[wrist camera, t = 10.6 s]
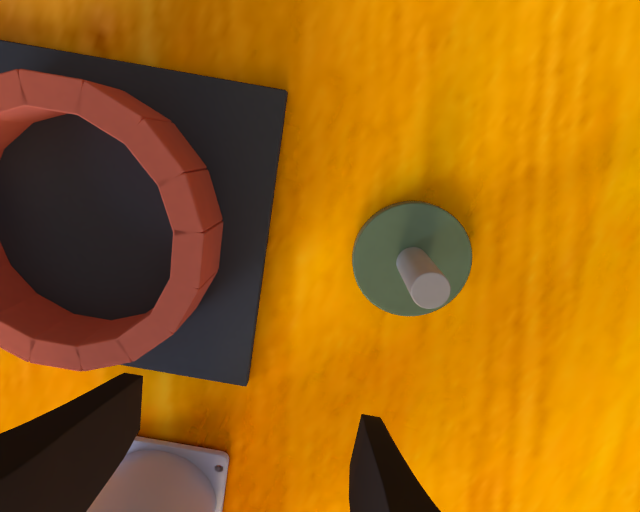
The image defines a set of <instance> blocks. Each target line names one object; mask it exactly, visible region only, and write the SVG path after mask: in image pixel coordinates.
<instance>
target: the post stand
mask: <svg viewBox="0 0 640 512" xmlns="http://www.w3.org/2000/svg"><path fill="white" fill-rule="evenodd" d="M352 264H353V271H354V276H355V279H356V282H357V284H358V286H359V288H360V290H361V291H362V293H363V294H364V295H365V297H366V298H367V299H368V300H369V301H370V302H371V303H373V304H374V305H375V306H377V307H378V308H380V309H382V310H384V311H386V312H389V313H391V314H396V315H401V316H418V315H424V314H428V313H431V312H433V311H436V310H438V309H440V308H442V307H443V306H445V305H446V304H448V303H449V302H450V301H451V300H453V299H454V298H455V297H456V296H457V294H458V293H459V292H460V291H461V289H462V288H463V286H464V285H465V283H466V281H467V279H468V276H469V273H470V269H471V265H472V249H471V244H470V240H469V238H468V235H467V233H466V231H465V229H464V228H463V226H462V225H461V224H460V222H459V221H458V220H457V219H456V218H455V217H454V216H452V215H451V214H450V213H448V212H447V211H445V210H443V209H442V208H440V207H438V206H436V205H433V204H430V203H426V202H421V201H404V202H399V203H395V204H392V205H390V206H387V207H385V208H383V209H381V210H380V211H378V212H377V213H375V214H374V215H373V216H372V217H371V218H370V219H369V220H368V221H367V222H366V223H365V224H364V226H363V227H362V228H361V230H360V232H359V233H358V235H357V238H356V240H355V243H354V247H353V254H352Z"/></svg>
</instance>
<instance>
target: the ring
mask: <svg viewBox="0 0 640 512" xmlns="http://www.w3.org/2000/svg"><path fill="white" fill-rule="evenodd" d="M64 114H74V115H78V116H80V117H82V118H83V119H85V120H86V121H88V122H90V123H91V124H93V125H95V126H96V127H98V128H99V129H101V130H103V131H104V132H106V133H108V134H109V135H111V136H112V137H114V138H116V139H117V140H119V141H121V142H122V143H124V144H125V145H126V146H127V148H128V149H129V150H130V151H131V153H132V154H133V155H134V157H135V158H136V159H137V160H138V162H139V163H140V164H141V165H142V167H143V168H144V169H145V170H146V172H147V173H148V174H149V175H150V177H151V178H152V179H153V180H154V182H155V183H156V184H157V185H158V188H159V191H160V194H161V197H162V200H163V203H164V206H165V209H166V212H167V215H168V218H169V221H170V224H171V227H172V230H173V242H172V256H171V271H170V279H169V281H168V283H167V284H166V286H165V288H164V290H163V292H162V294H161V295H160V297H159V299H158V301H157V303H156V305H155V306H154V308H152V309H151V310H150V311H148V312H147V313H144V314H140V315H135V316H130V317H125V318H120V319H115V320H106V319H101V318H95V317H89V316H83V315H78V314H73V313H71V312H70V311H68V310H66V309H64V308H62V307H61V306H59V305H57V304H55V303H53V302H51V301H50V300H48V299H46V298H44V297H42V296H41V295H39V294H37V293H36V292H35V291H34V290H33V288H32V287H31V286H30V285H29V284H28V283H27V282H26V281H25V280H24V279H23V278H22V277H21V276H20V274H19V273H18V272H17V271H16V270H15V269H14V268H13V267H12V266H11V265H10V262H9V260H8V258H7V256H6V254H5V251H4V249H3V247H2V245H1V242H0V348H2V349H4V350H6V351H8V352H10V353H12V354H14V355H15V356H17V357H19V358H21V359H23V360H25V361H27V362H29V361H30V363H35V364H41V365H46V366H52V367H58V368H64V369H69V370H75V371H88V370H93V369H98V368H104V367H109V366H114V365H119V364H124V363H130V362H132V361H133V362H134V361H136V360H137V359H139V358H140V357H141V356H143V355H144V354H146V353H147V352H149V351H150V350H152V349H153V348H155V347H156V346H157V345H159V344H160V343H162V342H163V341H165V340H166V339H168V338H169V337H170V336H172V335H173V334H174V333H175V332H176V331H177V330H178V329H179V327H180V326H181V325H182V324H183V323H184V322H185V321H186V320H187V318H188V317H189V316H190V315H191V314H192V313H193V312H194V310H195V309H196V308H197V306H198V305H199V303H200V301H201V300H202V298H203V296H204V294H205V293H206V291H207V289H208V287H209V286H210V284H211V282H212V281H213V279H214V277H215V275H216V274H217V272H218V269H219V261H220V251H221V242H222V232H223V221H222V220H223V218H222V214H221V211H220V207H219V204H218V201H217V197H216V194H215V191H214V187H213V184H212V180H211V177H210V174H209V171H208V170H207V169H206V168H207V166H206V165H205V164H204V162H203V161H202V160H201V158H200V157H199V156H198V154H197V153H196V152H195V150H194V149H193V148H192V146H191V145H190V144H189V143H188V141H187V140H186V139H185V137H184V136H183V135H182V133H181V132H180V131H179V129H178V128H177V127H176V125H175V124H174V123H171V122H172V121H171V120H169V119H168V118H166V117H165V116H163V115H161V114H160V113H158V112H157V111H155V110H154V109H152V108H150V107H149V106H147V105H146V104H144V103H142V102H141V101H139V100H138V99H136V98H134V97H133V96H131V95H130V94H128V93H126V92H125V91H122V90H120V89H116V88H113V87H109V86H105V85H101V84H98V83H94V82H90V81H87V80H83V79H78V78H72V77H66V76H60V75H55V74H49V73H43V72H37V71H32V70H26V69H15V70H11V71H8V72H4V73H0V159H1V156H2V154H3V151H4V149H5V148H6V147H7V146H8V145H9V144H10V143H12V142H13V141H14V140H15V139H16V138H17V137H18V136H19V135H20V134H21V133H23V132H24V131H25V130H26V129H27V128H28V127H29V126H30V125H31V124H32V123H34V122H38V121H42V120H45V119H49V118H53V117H57V116H60V115H64Z"/></svg>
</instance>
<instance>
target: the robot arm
mask: <svg viewBox="0 0 640 512" xmlns="http://www.w3.org/2000/svg"><path fill="white" fill-rule="evenodd" d="M142 384H143V376H140V375H134V374H129V373H123V374H121V375H119V376H117V377H115V378H113V379H111V380H109V381H107V382H106V383H104V384H102V385H100V386H98V387H96V388H94V389H93V390H91V391H89V392H87V393H85V394H83V395H81V396H79V397H77V398H76V399H74V400H72V401H70V402H68V403H66V404H64V405H62V406H60V407H58V408H56V409H54V410H52V411H50V412H48V413H46V414H43V415H41V416H39V417H37V418H35V419H33V420H31V421H29V422H27V423H24V424H22V425H20V426H18V427H15V428H13V429H11V430H8V431H6V432H3V433H1V434H0V512H222V511H223V503H224V495H225V488H226V480H227V472H228V465H229V456H228V454H227V453H226V452H224V451H220V450H214V449H208V448H202V447H197V446H191V445H185V444H179V443H174V442H168V441H162V440H156V439H151V438H145V437H139V436H137V434H138V432H139V430H140V421H141V402H142ZM218 465H221V466H222V467H219V466H218ZM349 503H350V512H441V511H440V510H439V509H438V508H437V506H436V505H435V504H434V503H433V501H432V500H431V499H430V497H429V496H428V495H427V493H426V492H425V490H424V489H423V488H422V486H421V485H420V483H419V482H418V480H417V479H416V477H415V476H414V474H413V473H412V471H411V470H410V468H409V466H408V465H407V463H406V461H405V460H404V458H403V457H402V455H401V453H400V452H399V450H398V448H397V446H396V445H395V443H394V441H393V439H392V437H391V436H390V434H389V432H388V430H387V428H386V426H385V424H384V423H383V421H382V419H381V418H380V417H375V416H370V415H364V414H362V415H361V419H360V423H359V428H358V432H357V436H356V440H355V445H354V449H353V453H352V458H351V462H350V475H349Z"/></svg>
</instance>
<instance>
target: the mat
mask: <svg viewBox="0 0 640 512" xmlns="http://www.w3.org/2000/svg"><path fill="white" fill-rule="evenodd" d="M15 69H26V70H32V71H37V72H43V73H49V74H55V75H60V76H66V77H72V78H78V79H83V80H87V81H90V82H94V83H98V84H101V85H105V86H109V87H113V88H116V89H120V90H122V91H125V92H126V93H128V94H130V95H131V96H133V97H134V98H136V99H138V100H139V101H141V102H142V103H144V104H146V105H147V106H149V107H150V108H152V109H154V110H155V111H157V112H158V113H160V114H161V115H163V116H165V117H166V118H168V119H169V120H171V121H172V122H171V123H174V124H175V125H176V127H177V128H178V129H179V131H180V132H181V133H182V135H183V136H184V137H185V139H186V140H187V141H188V143H189V144H190V145H191V146H192V148H193V149H194V150H195V152H196V153H197V154H198V156H199V157H200V158H201V160H202V161H203V162H204V164H205V165H206V166H207V168H206V169H207V170H208V171H209V174H210V177H211V180H212V184H213V187H214V191H215V194H216V197H217V201H218V204H219V207H220V211H221V214H222V218H223V220H222V221H223V232H222V242H221V251H220V261H219V269H218V272H217V274H216V275H215V277H214V279H213V281H212V282H211V284H210V286H209V287H208V289H207V291H206V293H205V294H204V296H203V298H202V300H201V301H200V303H199V305H198V306H197V308H196V309H195V310H194V312H193V313H192V314H191V315H190V316H189V317H188V318H187V320H186V321H185V322H184V323H183V324H182V325H181V326H180V327H179V329H178V330H177V331H176V332H175V333H174V334H173V335H172V336H170V337H169V338H168V339H166V340H165V341H163V342H162V343H160V344H159V345H157V346H156V347H155V348H153V349H152V350H150V351H149V352H147V353H146V354H144V355H143V356H141V357H140V358H139V359H137V360H136V361H134V362H133V361H132V362H130V363H124V364H120V365H125V366H131V367H137V368H143V369H148V370H154V371H160V372H166V373H171V374H177V375H183V376H189V377H194V378H200V379H206V380H212V381H217V382H223V383H229V384H235V385H240V386H247V383H248V381H249V373H250V366H251V359H252V351H253V344H254V337H255V329H256V322H257V315H258V307H259V300H260V293H261V285H262V278H263V271H264V263H265V256H266V249H267V241H268V234H269V227H270V219H271V212H272V205H273V198H274V190H275V183H276V176H277V168H278V161H279V154H280V146H281V139H282V132H283V124H284V117H285V110H286V102H287V95H288V92H287V91H286V90H282V89H276V88H271V87H265V86H259V85H254V84H248V83H242V82H237V81H231V80H225V79H219V78H214V77H208V76H202V75H197V74H191V73H185V72H180V71H174V70H168V69H163V68H157V67H151V66H146V65H140V64H134V63H128V62H123V61H117V60H111V59H106V58H100V57H94V56H89V55H83V54H77V53H72V52H66V51H60V50H55V49H49V48H43V47H38V46H32V45H26V44H20V43H15V42H9V41H3V40H0V73H4V72H8V71H11V70H15ZM0 242H1V245H2V247H3V249H4V251H5V254H6V256H7V258H8V260H9V262H10V265H11V266H12V267H13V268H14V269H15V270H16V271H17V272H18V273H19V274H20V276H21V277H22V278H23V279H24V280H25V281H26V282H27V283H28V284H29V285H30V286H31V287H32V288H33V290H34V291H35V292H36V293H37V294H39V295H41V296H42V297H44V298H46V299H48V300H50V301H51V302H53V303H55V304H57V305H59V306H61V307H62V308H64V309H66V310H68V311H70V312H71V313H73V314H78V315H83V316H89V317H95V318H101V319H106V320H115V319H120V318H125V317H130V316H135V315H140V314H144V313H147V312H148V311H150V310H151V309H152V308H154V306H155V305H156V303H157V301H158V299H159V297H160V295H161V294H162V292H163V290H164V288H165V286H166V284H167V283H168V281H169V279H170V271H171V256H172V242H173V230H172V227H171V224H170V221H169V218H168V215H167V212H166V209H165V206H164V203H163V200H162V197H161V194H160V191H159V188H158V185H157V184H156V183H155V182H154V180H153V179H152V178H151V177H150V175H149V174H148V173H147V172H146V170H145V169H144V168H143V167H142V165H141V164H140V163H139V162H138V160H137V159H136V158H135V157H134V155H133V154H132V153H131V151H130V150H129V149H128V148H127V146H126V145H125V144H124V143H122V142H121V141H119V140H117V139H116V138H114V137H112V136H111V135H109V134H108V133H106V132H104V131H103V130H101V129H99V128H98V127H96V126H95V125H93V124H91V123H90V122H88V121H86V120H85V119H83V118H82V117H80V116H78V115H74V114H64V115H60V116H57V117H53V118H49V119H45V120H42V121H38V122H34V123H32V124H31V125H30V126H29V127H28V128H27V129H26V130H25V131H24V132H23V133H21V134H20V135H19V136H18V137H17V138H16V139H15V140H14V141H13V142H12V143H10V144H9V145H8V146H7V147H6V148H5V149H4V151H3V154H2V156H1V159H0Z"/></svg>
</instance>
